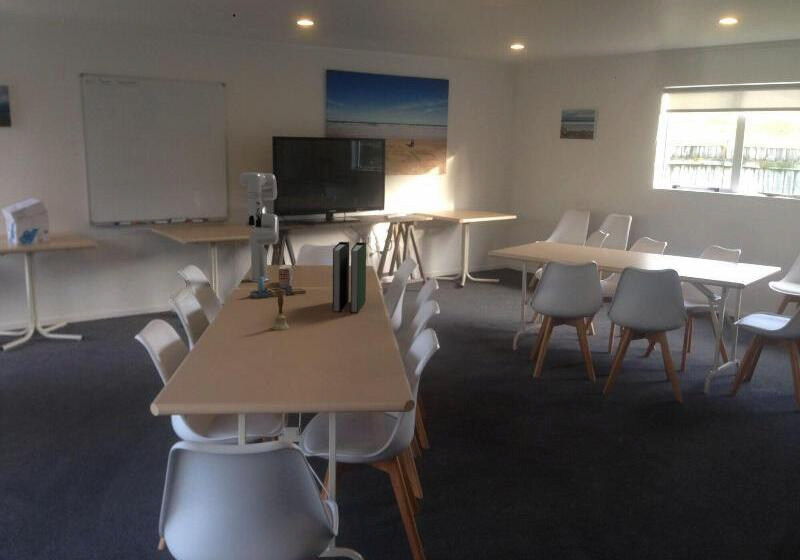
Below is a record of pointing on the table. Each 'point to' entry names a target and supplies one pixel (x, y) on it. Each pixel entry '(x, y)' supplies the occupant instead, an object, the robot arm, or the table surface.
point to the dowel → (260, 285)
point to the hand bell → (280, 317)
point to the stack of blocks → (285, 275)
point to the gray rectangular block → (287, 288)
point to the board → (298, 291)
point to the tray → (257, 296)
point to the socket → (277, 291)
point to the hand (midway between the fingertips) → (255, 226)
